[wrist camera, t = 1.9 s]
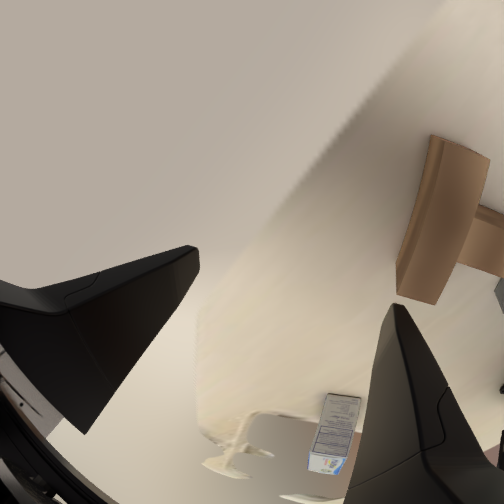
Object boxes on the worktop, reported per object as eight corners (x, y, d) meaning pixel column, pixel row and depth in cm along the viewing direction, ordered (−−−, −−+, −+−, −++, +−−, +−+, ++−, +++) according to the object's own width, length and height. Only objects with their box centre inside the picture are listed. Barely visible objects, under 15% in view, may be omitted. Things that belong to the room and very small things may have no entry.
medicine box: (327, 392, 30) (307, 452, 23) (362, 397, 28) (347, 459, 21) (323, 419, 34) (305, 470, 27) (353, 423, 32) (338, 476, 25)
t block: (521, 173, 11) (547, 190, 8) (477, 288, 17) (487, 320, 14) (430, 134, 14) (445, 141, 11) (395, 263, 19) (396, 294, 16)
